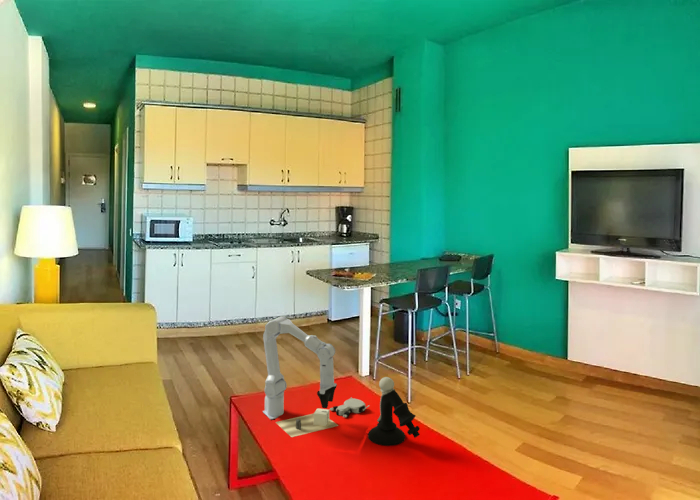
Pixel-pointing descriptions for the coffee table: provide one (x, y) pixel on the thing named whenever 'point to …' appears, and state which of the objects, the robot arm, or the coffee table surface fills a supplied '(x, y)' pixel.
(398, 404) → the sculpture
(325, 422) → the slotted white block
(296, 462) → the coffee table surface
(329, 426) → the board
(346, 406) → the robot toy
